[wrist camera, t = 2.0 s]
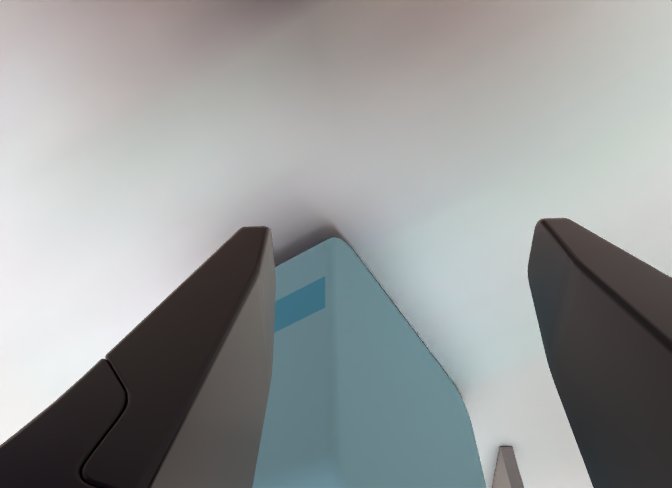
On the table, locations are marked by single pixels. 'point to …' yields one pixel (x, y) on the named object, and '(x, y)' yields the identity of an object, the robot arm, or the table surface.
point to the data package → (356, 388)
